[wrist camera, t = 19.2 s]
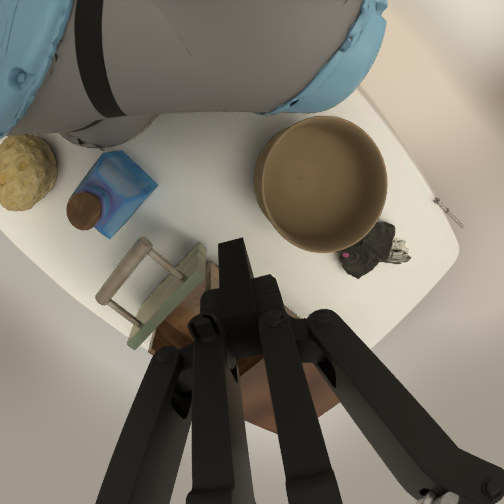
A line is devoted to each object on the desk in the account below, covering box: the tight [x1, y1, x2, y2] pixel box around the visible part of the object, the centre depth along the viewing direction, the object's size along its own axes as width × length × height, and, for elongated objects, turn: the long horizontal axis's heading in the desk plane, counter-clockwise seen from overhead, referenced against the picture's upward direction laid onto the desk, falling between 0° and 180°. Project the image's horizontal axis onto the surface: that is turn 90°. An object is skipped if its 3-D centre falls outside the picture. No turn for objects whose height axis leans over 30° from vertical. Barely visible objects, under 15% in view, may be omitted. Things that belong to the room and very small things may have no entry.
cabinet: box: [239, 306, 340, 434], centre depth 39 cm, size 16×14×10 cm
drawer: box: [95, 237, 262, 372], centre depth 34 cm, size 20×12×8 cm, turn 45°
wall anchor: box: [435, 198, 464, 228], centre depth 38 cm, size 1×9×1 cm
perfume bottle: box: [67, 150, 158, 239], centre depth 26 cm, size 6×6×12 cm
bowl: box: [254, 116, 387, 253], centre depth 29 cm, size 13×13×10 cm
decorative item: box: [0, 134, 57, 211], centre depth 26 cm, size 10×10×10 cm
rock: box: [340, 223, 395, 279], centre depth 36 cm, size 9×7×5 cm
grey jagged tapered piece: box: [384, 239, 411, 264], centre depth 38 cm, size 6×2×3 cm
